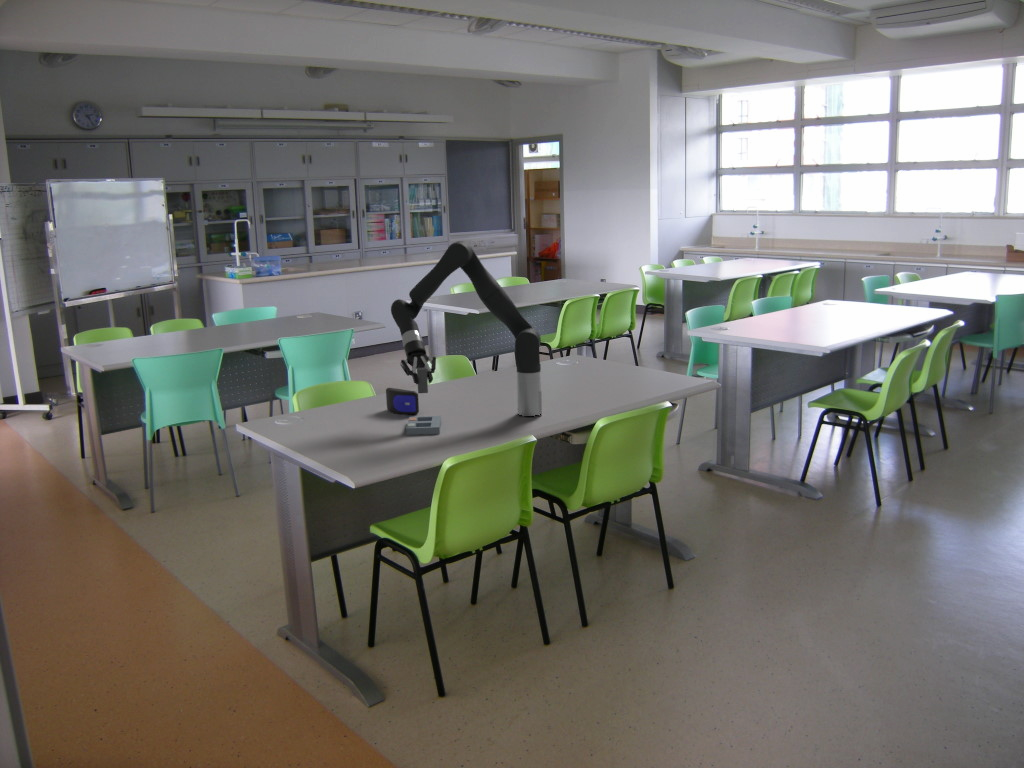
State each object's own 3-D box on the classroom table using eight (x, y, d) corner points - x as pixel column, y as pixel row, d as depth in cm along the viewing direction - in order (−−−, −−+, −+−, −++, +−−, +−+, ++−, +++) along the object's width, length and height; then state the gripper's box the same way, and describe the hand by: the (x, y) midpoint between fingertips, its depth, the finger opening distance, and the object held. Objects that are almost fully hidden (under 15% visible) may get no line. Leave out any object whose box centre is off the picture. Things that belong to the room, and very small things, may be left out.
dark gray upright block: (428, 390, 314) (427, 367, 312) (427, 393, 310) (426, 369, 308) (418, 391, 314) (417, 367, 312) (418, 393, 310) (416, 369, 308)
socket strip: (441, 422, 319) (441, 415, 318) (439, 433, 303) (439, 426, 303) (409, 423, 318) (409, 416, 318) (406, 435, 303) (405, 427, 302)
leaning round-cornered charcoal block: (381, 411, 336) (380, 389, 334) (389, 409, 340) (387, 386, 338) (412, 417, 328) (411, 393, 325) (420, 414, 331) (418, 391, 329)
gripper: (396, 340, 312) (407, 378, 304) (433, 337, 317) (444, 374, 309) (393, 352, 318) (403, 390, 310) (429, 349, 323) (440, 386, 315)
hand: (424, 382), depth 309 cm, fingers closed on dark gray upright block, 4 cm apart
